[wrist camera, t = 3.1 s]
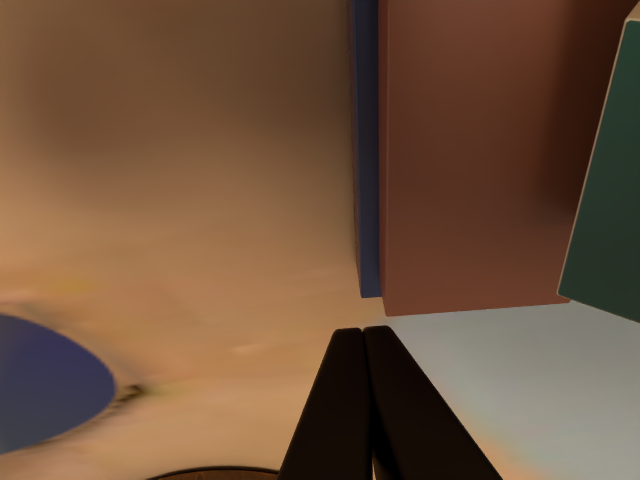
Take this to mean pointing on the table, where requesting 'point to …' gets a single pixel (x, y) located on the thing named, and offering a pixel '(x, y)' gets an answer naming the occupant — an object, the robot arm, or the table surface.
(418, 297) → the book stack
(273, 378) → the table surface
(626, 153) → the tea box
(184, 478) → the wooden container
